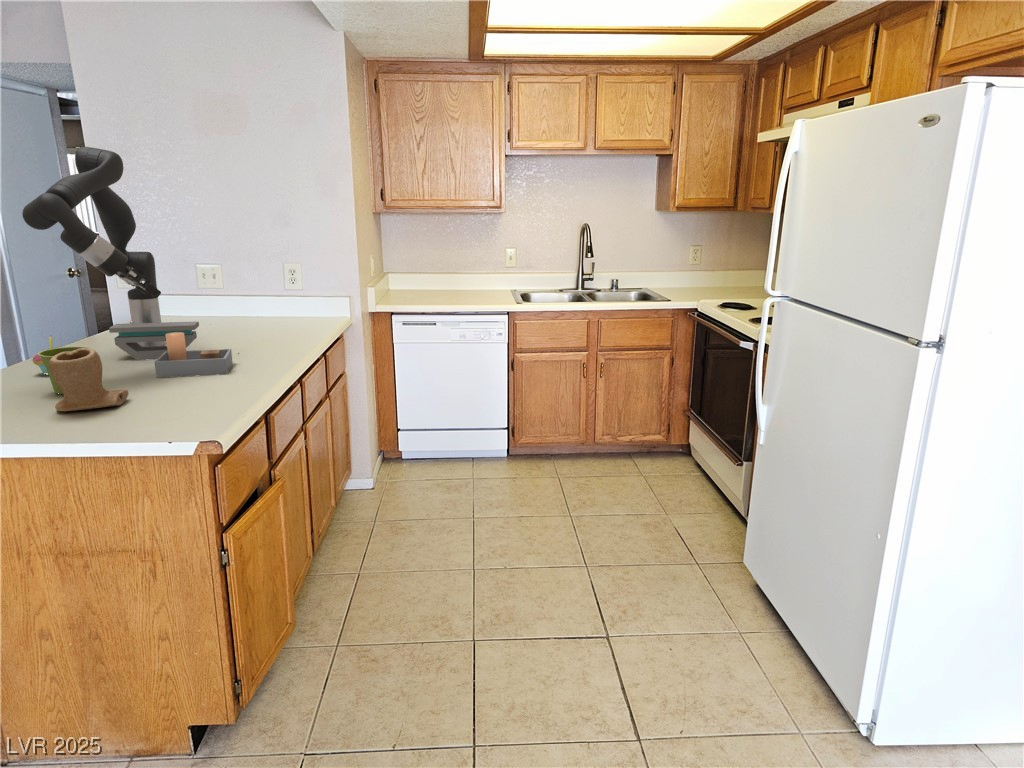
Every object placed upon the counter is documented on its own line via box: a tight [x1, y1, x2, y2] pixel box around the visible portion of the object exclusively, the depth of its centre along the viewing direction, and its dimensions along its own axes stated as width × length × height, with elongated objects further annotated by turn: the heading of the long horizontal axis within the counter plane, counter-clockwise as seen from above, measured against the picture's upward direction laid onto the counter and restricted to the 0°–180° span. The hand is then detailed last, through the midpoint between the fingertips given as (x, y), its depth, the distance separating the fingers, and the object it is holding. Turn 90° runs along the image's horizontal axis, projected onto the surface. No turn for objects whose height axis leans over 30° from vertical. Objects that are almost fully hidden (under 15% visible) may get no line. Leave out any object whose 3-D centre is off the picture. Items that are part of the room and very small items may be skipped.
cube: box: [200, 349, 221, 359], centre depth 200 cm, size 5×5×5 cm
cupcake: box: [31, 334, 54, 374], centre depth 192 cm, size 9×8×12 cm
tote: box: [154, 348, 233, 379], centre depth 199 cm, size 19×14×5 cm
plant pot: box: [37, 346, 91, 395], centre depth 174 cm, size 12×12×11 cm
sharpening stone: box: [108, 320, 200, 361], centre depth 216 cm, size 25×8×11 cm, turn 105°
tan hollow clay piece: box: [49, 347, 129, 412], centre depth 160 cm, size 15×12×15 cm
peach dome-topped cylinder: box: [165, 332, 187, 361], centre depth 197 cm, size 5×5×11 cm
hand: (153, 293), depth 189 cm, fingers open, 8 cm apart
